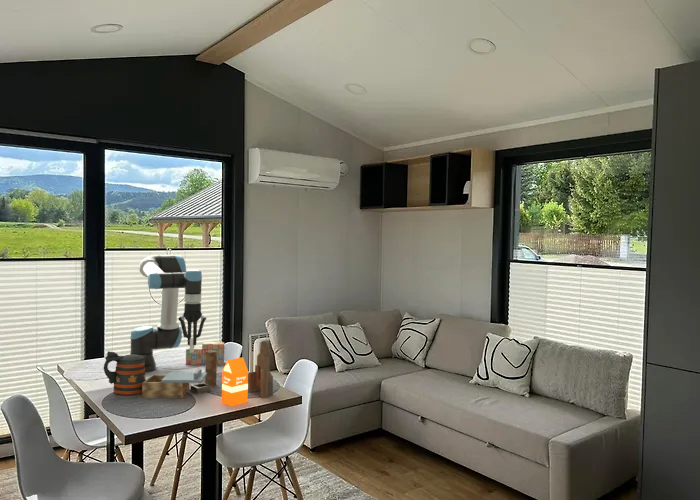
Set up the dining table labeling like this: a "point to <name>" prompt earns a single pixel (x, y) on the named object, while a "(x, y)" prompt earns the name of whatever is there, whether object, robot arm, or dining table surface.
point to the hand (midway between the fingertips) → (191, 351)
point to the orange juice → (235, 382)
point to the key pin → (211, 367)
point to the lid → (184, 377)
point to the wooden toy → (261, 373)
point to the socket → (200, 388)
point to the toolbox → (162, 388)
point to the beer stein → (126, 373)
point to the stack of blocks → (200, 353)
